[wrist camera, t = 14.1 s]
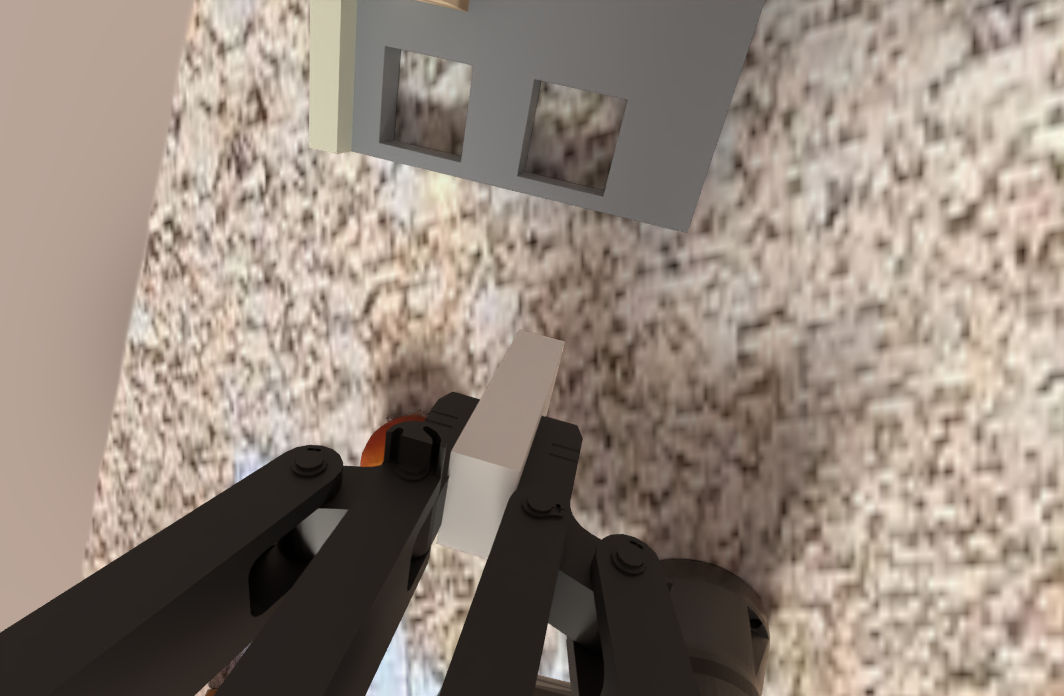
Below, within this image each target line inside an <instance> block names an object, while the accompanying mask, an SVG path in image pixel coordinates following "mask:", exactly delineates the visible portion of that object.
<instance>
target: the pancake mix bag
mask: <svg viewBox="0 0 1064 696" xmlns="http://www.w3.org/2000/svg"><path fill="white" fill-rule="evenodd" d="M217 690H218V689H208V690H207V693H206V695H205V696H214V694H215V693H216V692H217Z"/></svg>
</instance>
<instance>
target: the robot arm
mask: <svg viewBox="0 0 1064 696" xmlns="http://www.w3.org/2000/svg"><path fill="white" fill-rule="evenodd" d="M564 345H565V341H561V340H557V339H554V338H550V337H546V336H542V335H539V334H535V333H531V332H528V331H524V330H519V331H518V333H517V335H516V337H515V338H514V340H513V342H512V344H511V346H510V347H509V349H508V351H507V353H506V354H505V356H504V358H503V360H502V362H501V363H500V365H499V367H498V369H497V371H496V372H495V374H494V376H493V378H492V379H491V381H490V383H489V385H488V387H487V388H486V390H485V392H484V394H483V395H482V397H481V399H477V398H473V397H469V396H466V395H462V394H459V393H455V392H451V393H449V394H448V395H446V396H444V397H442V398H440V399H439V400H438V401H437V403H436V404H435V406H434V407H433V408H432V410H431V412H430V413H429V414H428V416H427V417H426V418H425V421H423V422H421V421H404V422H401V423H398V424H395V425H393V426H392V427H390V428H389V429H388V430H387V431H386V439H385V450H384V461H383V463H382V464H381V465H378V466H373V467H357V466H343V461H342V459H341V456H340V455H339V454H338V453H337V452H335V451H334V450H333V449H331V448H328V447H325V446H319V445H306V446H301V447H296V448H294V449H292V450H289V451H287V452H285V453H284V454H282V455H280V456H279V457H277V458H276V459H274V460H272V461H271V462H269V463H268V464H266V465H265V466H263V467H261V468H260V469H258V470H257V471H255V472H254V473H252V474H250V475H249V476H247V477H246V478H244V479H242V480H241V481H239V482H238V483H236V484H235V485H233V486H231V487H230V488H228V489H227V490H225V491H223V492H222V493H220V494H219V495H217V496H216V497H214V498H212V499H211V500H209V501H208V502H206V503H204V504H203V505H201V506H200V507H198V508H197V509H195V510H193V511H192V512H190V513H189V514H187V515H186V516H184V517H182V518H181V519H179V520H178V521H176V522H174V523H173V524H171V525H170V526H168V527H167V528H165V529H163V530H162V531H160V532H159V533H157V534H155V535H154V536H152V537H151V538H149V539H148V540H146V541H144V542H143V543H141V544H140V545H138V546H136V547H135V548H133V549H132V550H130V551H129V552H127V553H125V554H124V555H122V556H121V557H119V558H118V559H116V560H114V561H113V562H111V563H110V564H108V565H106V566H105V567H103V568H102V569H100V570H99V571H97V572H95V573H94V574H92V575H91V576H89V577H87V578H86V579H84V580H83V581H81V582H80V583H78V584H76V585H75V586H73V587H72V588H70V589H68V590H67V591H65V592H64V593H62V594H61V595H59V596H57V597H56V598H55V599H53V600H51V601H50V602H48V603H46V604H45V605H43V606H42V607H40V608H38V609H37V610H36V611H34V612H32V613H31V614H29V615H28V616H26V617H24V618H23V619H21V620H20V621H18V622H16V623H15V624H13V625H12V626H10V627H8V628H7V629H5V630H4V631H2V632H1V633H0V696H194V695H195V694H197V693H198V692H199V691H200V690H201V689H202V688H203V687H204V686H205V685H206V684H207V683H208V682H209V681H210V680H211V679H212V678H214V677H215V676H216V675H217V674H218V673H219V672H220V671H221V670H222V669H223V668H224V667H225V666H226V665H227V664H228V663H230V662H231V661H232V660H233V659H234V658H235V657H236V656H237V655H238V654H239V653H240V652H241V651H242V650H243V649H244V648H245V647H247V646H248V645H249V644H250V643H251V642H252V641H253V640H254V641H253V642H252V643H251V645H250V646H249V647H248V649H247V650H246V652H245V653H244V654H243V656H242V657H241V658H240V660H239V661H238V663H237V664H236V665H235V667H234V668H233V669H232V671H231V672H230V674H229V675H228V676H227V678H226V679H225V680H224V682H223V683H222V685H221V686H220V687H219V689H218V690H217V692H216V693H215V694H214V696H365V695H366V693H367V691H368V689H369V686H370V684H371V682H372V680H373V678H374V676H375V674H376V672H377V670H378V667H379V665H380V663H381V661H382V659H383V657H384V655H385V653H386V651H387V648H388V646H389V644H390V642H391V640H392V638H393V636H394V634H395V631H396V629H397V627H398V625H399V623H400V621H401V619H402V617H403V615H404V612H405V610H406V608H407V606H408V604H409V602H410V600H411V598H412V596H413V593H414V591H415V589H416V587H417V585H418V583H419V581H420V579H421V577H422V574H423V572H424V570H425V568H426V566H427V564H428V560H429V556H430V550H431V545H432V543H433V541H434V539H435V537H436V535H437V533H438V537H437V543H436V544H438V545H441V546H445V547H448V548H451V549H454V550H458V551H461V552H464V553H467V554H470V555H474V556H477V557H480V558H483V559H487V562H486V565H485V568H484V570H483V573H482V576H481V579H480V582H479V584H478V587H477V590H476V593H475V596H474V598H473V601H472V604H471V607H470V610H469V612H468V615H467V618H466V621H465V624H464V626H463V629H462V632H461V635H460V638H459V640H458V643H457V646H456V649H455V652H454V654H453V657H452V660H451V663H450V666H449V669H448V671H447V674H446V677H445V680H444V683H443V685H442V688H441V690H440V691H439V693H438V695H437V696H761V695H762V689H763V683H764V677H765V671H766V665H767V659H768V652H769V646H770V633H769V628H768V623H767V618H766V614H765V610H764V607H763V604H762V602H761V600H760V599H759V597H758V596H757V594H756V593H755V592H754V591H753V589H752V588H751V587H750V586H749V585H748V584H746V583H745V582H744V581H743V580H741V579H740V578H739V577H737V576H735V575H734V574H732V573H730V572H728V571H726V570H724V569H722V568H719V567H717V566H714V565H710V564H707V563H703V562H698V561H691V560H664V561H659V559H658V557H657V555H656V553H655V552H654V551H653V550H652V549H651V548H650V547H649V546H648V545H647V544H645V543H644V542H642V541H640V540H639V539H637V538H635V537H632V536H628V535H624V534H614V535H610V536H607V537H605V538H603V539H602V540H601V539H599V538H597V537H596V536H594V535H592V534H591V533H589V532H588V531H587V530H585V529H584V528H583V527H582V526H581V525H580V524H579V523H578V522H577V521H576V520H575V518H574V516H573V515H572V512H571V508H570V500H571V495H572V490H573V485H574V480H575V475H576V470H577V464H578V459H579V454H580V449H581V444H582V439H583V438H582V436H581V433H580V431H579V428H578V426H577V425H573V424H570V423H566V422H563V421H559V420H556V419H552V418H549V417H546V416H547V413H548V409H549V405H550V401H551V397H552V393H553V389H554V385H555V381H556V377H557V373H558V369H559V365H560V361H561V357H562V353H563V349H564ZM438 530H439V531H438ZM548 623H549V624H551V625H552V626H553V627H555V628H556V629H558V630H559V631H561V632H562V633H564V634H565V635H567V640H566V642H567V652H568V663H569V673H570V683H569V682H565V681H561V680H557V679H553V678H549V677H545V676H541V675H538V670H539V665H540V660H541V655H542V650H543V645H544V640H545V635H546V630H547V625H548Z"/></svg>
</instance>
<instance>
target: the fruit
mask: <svg viewBox="0 0 1064 696" xmlns="http://www.w3.org/2000/svg"><path fill="white" fill-rule="evenodd" d="M426 417H427V415H425V414H424V413H423V412H422V411H421V409H420V410H419V411H418V412H416V413H413V414H410V415H406V416H402V417H398V418H395V419H393V420H391V421H389V420H388V418H387V421H388V423H386V424H384V425H383V426H381V427H380V428H379V429H378V430H376V431H375V432H374V433H373V434H372V436H371V437H370V439H369V441H368V442H367V444H366V446H365V448H364V451H363V453H362V456H361V464H360V465H361V467H373V466H378V465H381V464H382V463H383V461H384V450H385V439H386V431H387V430H388V429H389V428H390V427H392V426H393V425H395V424H398V423H401V422H404V421H421V422H423V421H425V418H426Z"/></svg>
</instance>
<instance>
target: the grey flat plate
mask: <svg viewBox="0 0 1064 696" xmlns="http://www.w3.org/2000/svg"><path fill="white" fill-rule="evenodd" d="M764 1H765V0H469V6H468V12H465V11H461V10H457V9H452V8H448V7H443V6H439V5H434V4H430V3H426V2H421V1H417V0H310V112H309V147H310V148H314V149H318V150H322V151H326V152H330V153H335V154H340V153H345V152H350V151H352V152H356V153H360V154H365V155H369V156H373V157H377V158H381V159H385V160H389V161H393V162H397V163H402V164H406V165H410V166H414V167H418V168H422V169H426V170H430V171H434V172H438V173H443V174H447V175H451V176H455V177H459V178H463V179H467V180H471V181H475V182H480V183H484V184H488V185H492V186H496V187H500V188H504V189H508V190H512V191H516V192H521V193H525V194H529V195H533V196H537V197H541V198H545V199H549V200H553V201H557V202H562V203H566V204H570V205H574V206H578V207H582V208H586V209H590V210H594V211H599V212H603V213H607V214H611V215H615V216H619V217H623V218H627V219H631V220H635V221H640V222H644V223H648V224H652V225H656V226H660V227H664V228H668V229H672V230H677V231H681V232H685V233H687V232H688V229H689V226H690V223H691V220H692V217H693V214H694V211H695V208H696V205H697V202H698V199H699V196H700V193H701V190H702V187H703V184H704V181H705V178H706V175H707V172H708V169H709V166H710V163H711V160H712V157H713V154H714V151H715V148H716V145H717V142H718V139H719V136H720V133H721V130H722V127H723V124H724V121H725V118H726V115H727V112H728V109H729V106H730V103H731V100H732V97H733V94H734V91H735V88H736V85H737V82H738V79H739V76H740V73H741V70H742V67H743V64H744V61H745V58H746V55H747V52H748V49H749V46H750V43H751V40H752V37H753V34H754V31H755V28H756V25H757V22H758V19H759V16H760V13H761V10H762V7H763V4H764ZM401 49H402V50H406V51H411V52H415V53H420V54H424V55H429V56H433V57H438V58H442V59H447V60H451V61H456V62H460V63H465V64H469V65H473V73H472V81H471V89H470V96H469V104H468V112H467V119H466V127H465V135H464V142H463V150H462V156H458V155H454V154H449V153H445V152H441V151H437V150H433V149H429V148H424V147H420V146H416V145H412V144H408V143H404V142H399V141H395V140H394V135H395V121H396V108H397V94H398V81H399V67H400V53H401ZM541 81H545V82H550V83H554V84H559V85H563V86H568V87H572V88H577V89H581V90H586V91H590V92H595V93H599V94H603V95H608V96H612V97H617V98H621V99H626V100H628V101H627V105H626V109H625V113H624V117H623V120H622V124H621V128H620V132H619V136H618V140H617V144H616V148H615V152H614V156H613V160H612V164H611V168H610V172H609V176H608V180H607V184H606V188H605V191H604V190H600V189H595V188H591V187H587V186H583V185H579V184H575V183H570V182H566V181H562V180H558V179H554V178H550V177H545V176H541V175H537V174H533V173H529V172H525V167H526V161H527V156H528V150H529V145H530V139H531V134H532V129H533V123H534V118H535V112H536V107H537V101H538V96H539V90H540V85H541Z"/></svg>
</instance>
